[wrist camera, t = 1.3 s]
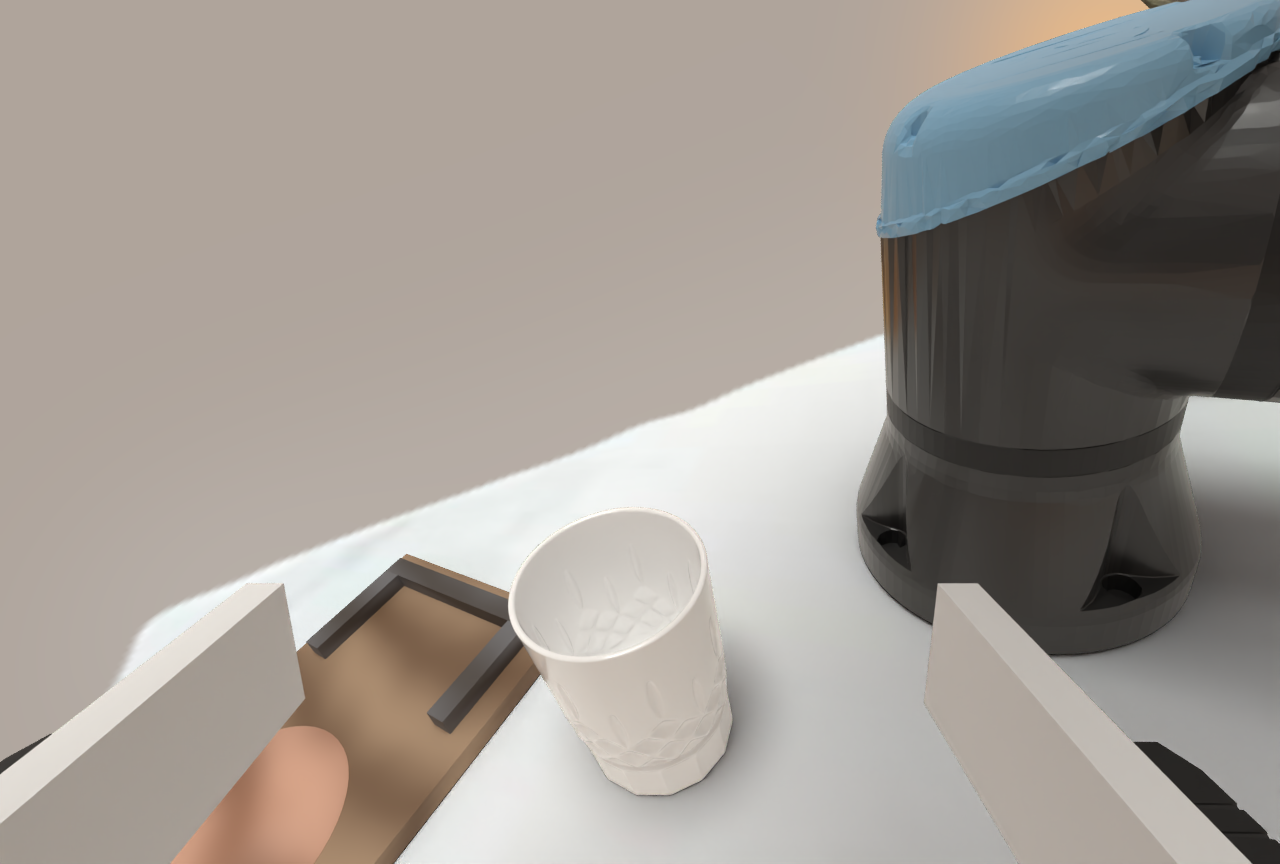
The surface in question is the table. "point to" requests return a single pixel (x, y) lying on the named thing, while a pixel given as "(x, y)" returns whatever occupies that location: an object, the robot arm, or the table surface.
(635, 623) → the white cup
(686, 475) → the table surface
